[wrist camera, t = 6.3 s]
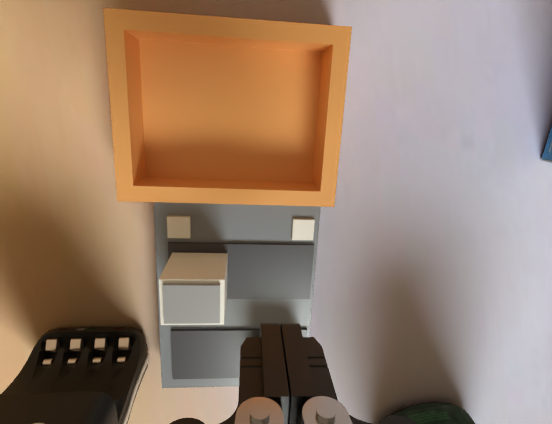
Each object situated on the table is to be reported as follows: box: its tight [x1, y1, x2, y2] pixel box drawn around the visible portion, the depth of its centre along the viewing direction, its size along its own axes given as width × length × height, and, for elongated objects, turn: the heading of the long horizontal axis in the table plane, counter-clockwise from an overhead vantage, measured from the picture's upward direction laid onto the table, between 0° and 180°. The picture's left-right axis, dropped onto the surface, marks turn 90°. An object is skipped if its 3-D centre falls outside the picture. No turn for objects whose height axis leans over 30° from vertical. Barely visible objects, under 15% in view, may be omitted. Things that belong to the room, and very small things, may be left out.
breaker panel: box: [154, 202, 321, 388], centre depth 22 cm, size 12×9×2 cm
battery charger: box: [0, 327, 149, 424], centre depth 18 cm, size 7×4×11 cm, turn 88°
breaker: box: [159, 253, 228, 325], centre depth 18 cm, size 2×3×3 cm
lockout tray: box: [103, 8, 352, 207], centre depth 18 cm, size 9×11×3 cm
